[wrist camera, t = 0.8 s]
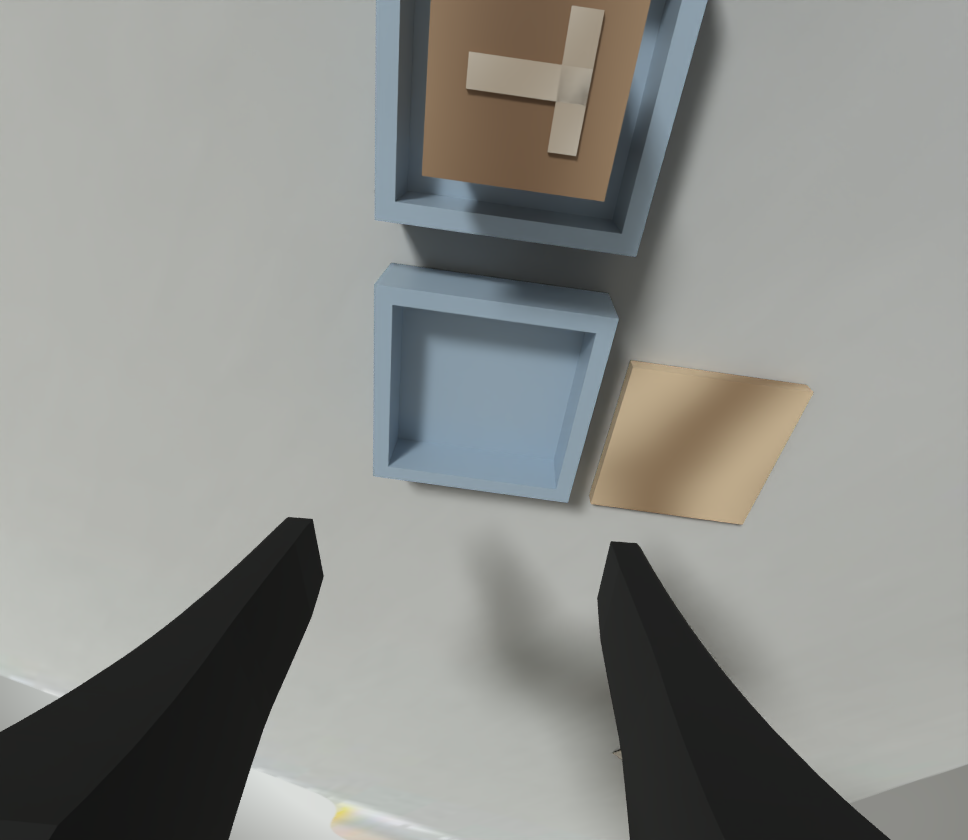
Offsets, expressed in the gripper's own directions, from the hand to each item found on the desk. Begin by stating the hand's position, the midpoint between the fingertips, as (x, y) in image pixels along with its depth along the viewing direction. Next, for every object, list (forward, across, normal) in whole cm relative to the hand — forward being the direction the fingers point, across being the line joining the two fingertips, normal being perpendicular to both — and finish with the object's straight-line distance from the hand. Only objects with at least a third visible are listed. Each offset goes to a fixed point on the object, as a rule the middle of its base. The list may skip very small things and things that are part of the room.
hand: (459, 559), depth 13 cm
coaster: (+10, -9, +3) cm, 14 cm away
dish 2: (+10, 0, 0) cm, 10 cm away
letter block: (+9, -1, -10) cm, 14 cm away
